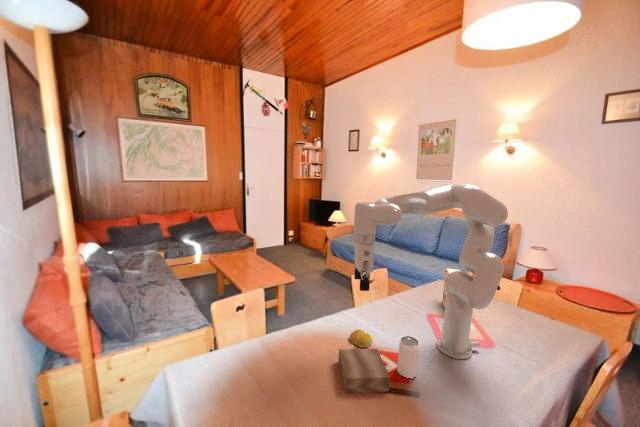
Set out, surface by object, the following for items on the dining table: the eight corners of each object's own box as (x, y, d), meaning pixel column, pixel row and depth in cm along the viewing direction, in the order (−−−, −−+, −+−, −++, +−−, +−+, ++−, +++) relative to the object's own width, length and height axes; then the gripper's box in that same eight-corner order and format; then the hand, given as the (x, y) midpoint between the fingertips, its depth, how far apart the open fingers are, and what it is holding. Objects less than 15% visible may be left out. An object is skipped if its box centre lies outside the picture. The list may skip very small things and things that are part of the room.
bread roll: (363, 351, 108) (364, 342, 107) (346, 340, 114) (347, 331, 114) (376, 343, 113) (377, 334, 112) (359, 332, 120) (360, 324, 119)
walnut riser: (376, 361, 102) (377, 348, 101) (388, 391, 88) (389, 377, 88) (338, 361, 101) (339, 349, 100) (344, 392, 87) (345, 378, 86)
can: (416, 368, 99) (419, 337, 97) (416, 381, 93) (419, 348, 91) (397, 364, 101) (400, 333, 99) (396, 376, 95) (399, 344, 93)
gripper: (381, 245, 89) (378, 295, 92) (368, 232, 106) (366, 275, 109) (358, 244, 88) (355, 295, 91) (349, 232, 105) (347, 275, 108)
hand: (361, 284), depth 100 cm, fingers open, 9 cm apart
